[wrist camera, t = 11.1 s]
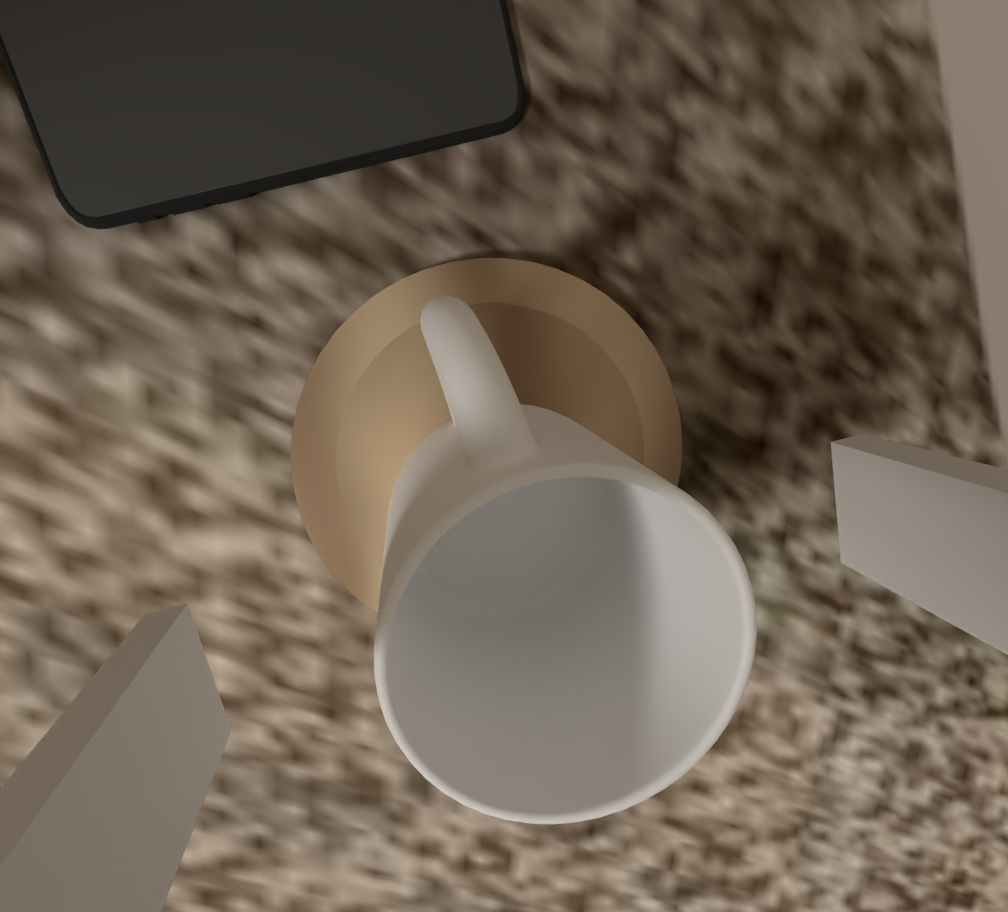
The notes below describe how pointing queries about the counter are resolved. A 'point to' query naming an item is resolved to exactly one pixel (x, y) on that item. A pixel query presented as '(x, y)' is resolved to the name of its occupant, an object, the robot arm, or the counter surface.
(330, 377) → the coaster
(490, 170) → the counter surface
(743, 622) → the mug
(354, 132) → the smartphone
